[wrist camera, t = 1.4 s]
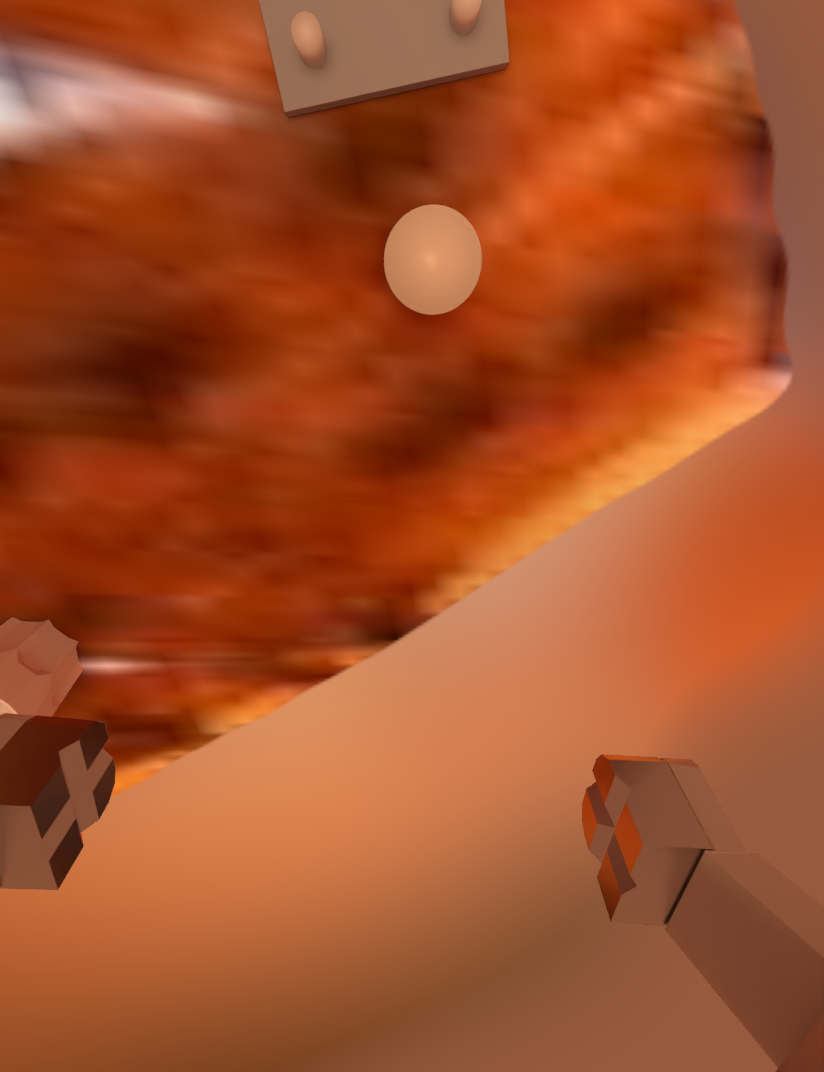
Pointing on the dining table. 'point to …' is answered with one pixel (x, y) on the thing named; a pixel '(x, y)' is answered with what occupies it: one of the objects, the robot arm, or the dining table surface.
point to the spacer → (432, 259)
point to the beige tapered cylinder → (35, 667)
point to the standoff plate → (378, 47)
